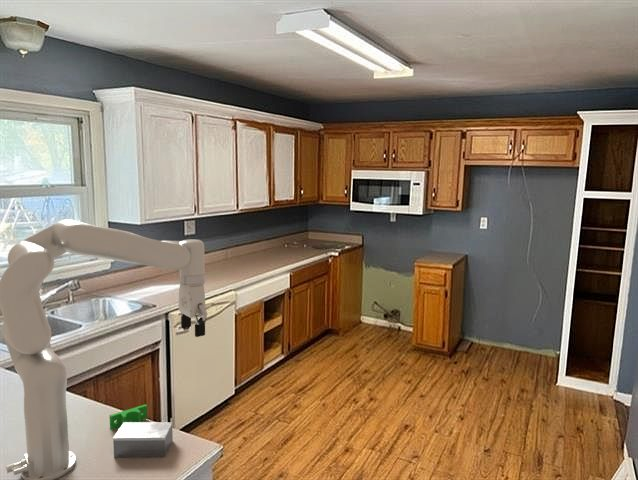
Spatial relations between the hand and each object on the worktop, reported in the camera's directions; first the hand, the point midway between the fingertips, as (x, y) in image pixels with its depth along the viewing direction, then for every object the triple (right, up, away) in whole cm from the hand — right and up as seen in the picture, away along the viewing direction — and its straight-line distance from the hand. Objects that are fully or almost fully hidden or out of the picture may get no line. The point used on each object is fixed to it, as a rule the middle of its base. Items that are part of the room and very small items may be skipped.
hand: (193, 331), depth 149 cm
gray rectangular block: (-10, -31, -15) cm, 36 cm away
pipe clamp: (-19, -29, -2) cm, 35 cm away
